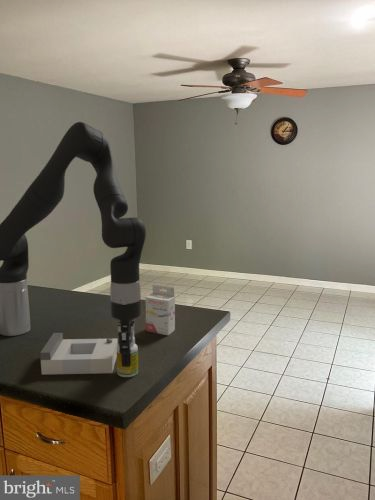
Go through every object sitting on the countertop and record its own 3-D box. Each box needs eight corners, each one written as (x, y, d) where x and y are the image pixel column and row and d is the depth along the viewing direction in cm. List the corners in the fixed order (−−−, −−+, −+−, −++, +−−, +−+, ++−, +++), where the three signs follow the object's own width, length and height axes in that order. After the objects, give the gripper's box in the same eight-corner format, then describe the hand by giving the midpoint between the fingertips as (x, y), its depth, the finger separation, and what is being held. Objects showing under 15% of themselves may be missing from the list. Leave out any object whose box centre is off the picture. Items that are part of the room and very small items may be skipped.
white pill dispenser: (41, 374, 108) (40, 352, 107) (54, 352, 121) (53, 332, 120) (112, 373, 109) (111, 351, 108) (118, 351, 122) (117, 331, 121)
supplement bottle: (134, 378, 106) (133, 342, 104) (114, 376, 107) (112, 340, 105) (140, 369, 111) (140, 334, 109) (121, 367, 112) (120, 332, 111)
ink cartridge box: (145, 331, 137) (144, 287, 134) (152, 326, 141) (152, 283, 138) (168, 335, 133) (168, 291, 130) (175, 330, 138) (175, 287, 135)
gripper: (114, 289, 112) (116, 349, 115) (106, 307, 98) (109, 374, 101) (142, 289, 113) (143, 348, 116) (138, 306, 98) (140, 373, 102)
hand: (127, 360), depth 109 cm, fingers closed on supplement bottle, 5 cm apart
